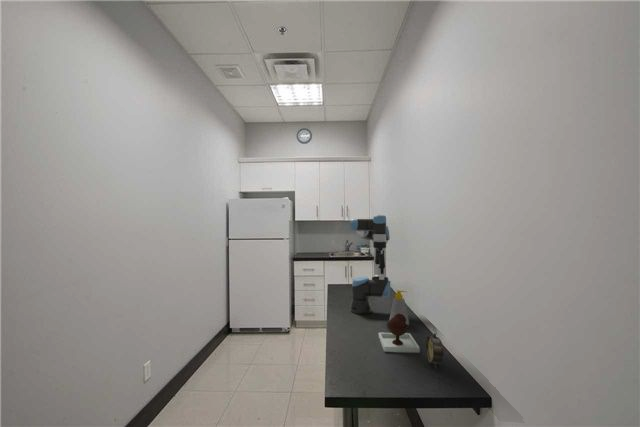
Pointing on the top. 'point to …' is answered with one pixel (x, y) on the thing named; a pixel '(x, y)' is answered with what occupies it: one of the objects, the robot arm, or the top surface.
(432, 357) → the alarm clock
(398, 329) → the ice cream bowl
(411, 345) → the tray
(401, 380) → the top surface
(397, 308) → the soap bottle
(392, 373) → the top surface
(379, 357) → the top surface
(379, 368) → the top surface
